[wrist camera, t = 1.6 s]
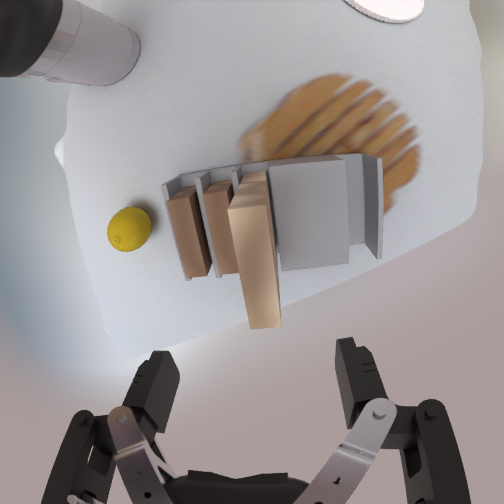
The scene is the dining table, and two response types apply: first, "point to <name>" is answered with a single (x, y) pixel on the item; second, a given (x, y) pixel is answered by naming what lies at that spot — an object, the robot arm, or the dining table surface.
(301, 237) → the rack
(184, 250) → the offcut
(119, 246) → the lemon
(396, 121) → the dining table surface
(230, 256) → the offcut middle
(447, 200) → the dining table surface
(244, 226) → the wooden block
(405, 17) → the plastic lid
